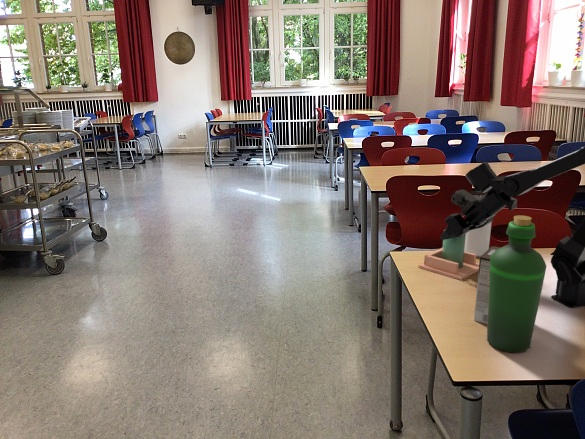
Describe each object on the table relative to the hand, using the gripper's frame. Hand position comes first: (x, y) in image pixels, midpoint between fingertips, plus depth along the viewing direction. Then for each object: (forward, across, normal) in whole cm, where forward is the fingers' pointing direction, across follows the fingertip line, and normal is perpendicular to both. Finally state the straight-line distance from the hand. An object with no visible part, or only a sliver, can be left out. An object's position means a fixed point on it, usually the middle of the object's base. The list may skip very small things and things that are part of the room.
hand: (449, 235), depth 145 cm
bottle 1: (+5, 0, +8) cm, 9 cm away
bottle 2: (-16, +31, +30) cm, 46 cm away
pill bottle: (+7, -17, +7) cm, 19 cm away
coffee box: (-10, +22, +25) cm, 35 cm away
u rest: (+6, 0, +8) cm, 10 cm away
